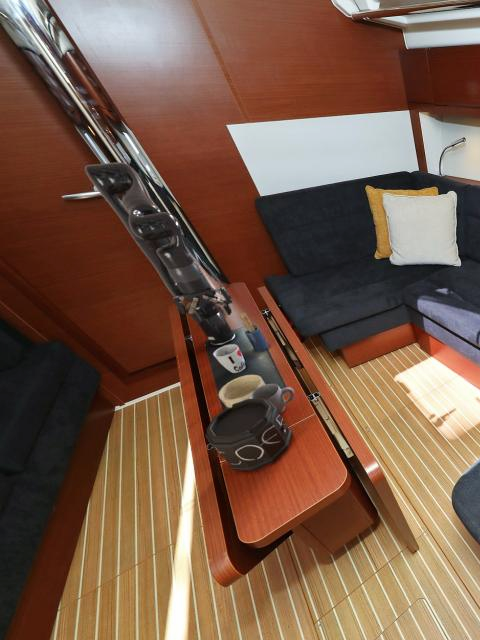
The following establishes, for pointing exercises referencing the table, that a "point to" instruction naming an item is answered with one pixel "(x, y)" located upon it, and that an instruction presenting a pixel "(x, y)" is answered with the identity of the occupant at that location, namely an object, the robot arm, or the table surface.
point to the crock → (257, 340)
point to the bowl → (239, 389)
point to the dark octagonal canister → (249, 434)
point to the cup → (230, 358)
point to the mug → (273, 395)
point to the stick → (247, 322)
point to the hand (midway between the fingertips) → (215, 317)
